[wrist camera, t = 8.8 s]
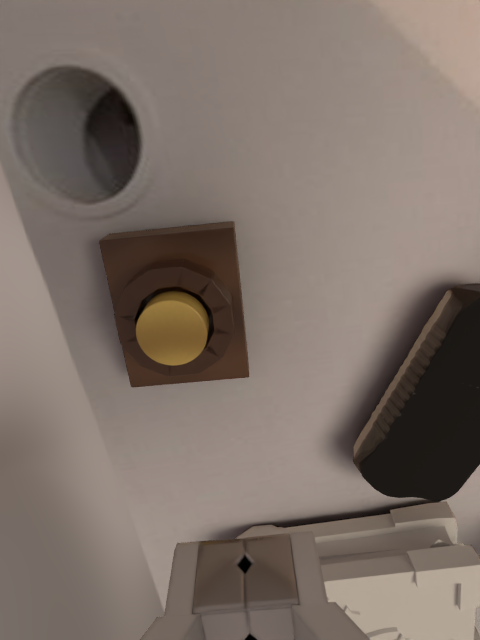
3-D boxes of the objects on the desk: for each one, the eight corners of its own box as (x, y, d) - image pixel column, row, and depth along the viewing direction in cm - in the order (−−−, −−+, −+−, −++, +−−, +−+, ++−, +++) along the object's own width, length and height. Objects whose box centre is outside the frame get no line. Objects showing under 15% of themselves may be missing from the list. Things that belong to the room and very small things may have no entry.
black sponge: (451, 261, 28) (480, 277, 25) (558, 307, 29) (599, 328, 26) (337, 450, 34) (348, 484, 30) (431, 482, 35) (451, 518, 32)
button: (136, 293, 25) (129, 304, 23) (204, 287, 25) (202, 297, 23) (148, 355, 27) (142, 369, 25) (213, 349, 26) (211, 363, 25)
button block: (108, 233, 27) (88, 247, 24) (234, 221, 27) (233, 233, 23) (137, 372, 31) (124, 402, 27) (248, 362, 31) (250, 391, 27)
